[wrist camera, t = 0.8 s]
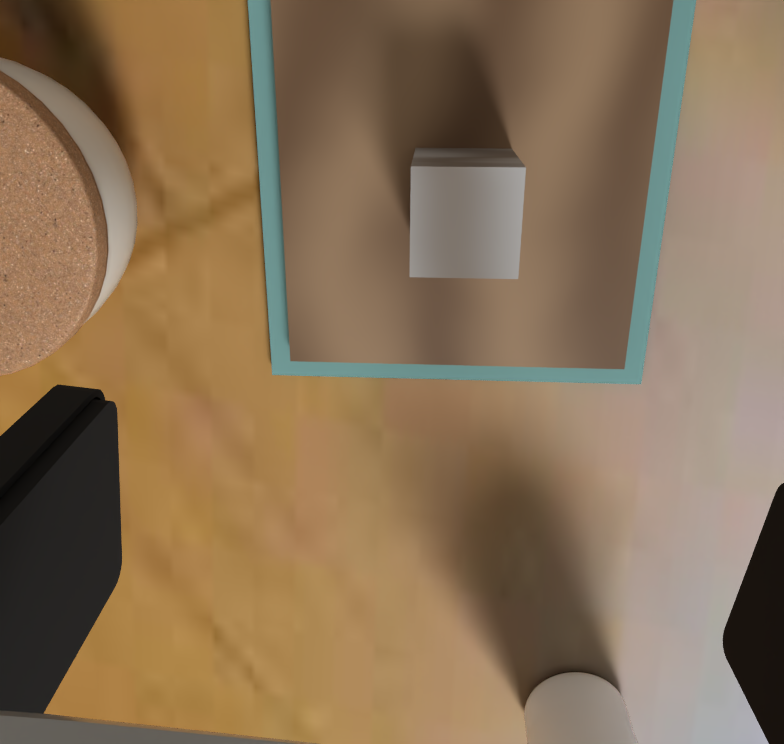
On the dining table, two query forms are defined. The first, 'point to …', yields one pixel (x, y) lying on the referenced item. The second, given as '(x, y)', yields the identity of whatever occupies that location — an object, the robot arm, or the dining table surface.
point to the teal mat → (630, 375)
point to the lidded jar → (56, 215)
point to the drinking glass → (577, 712)
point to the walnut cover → (465, 177)
